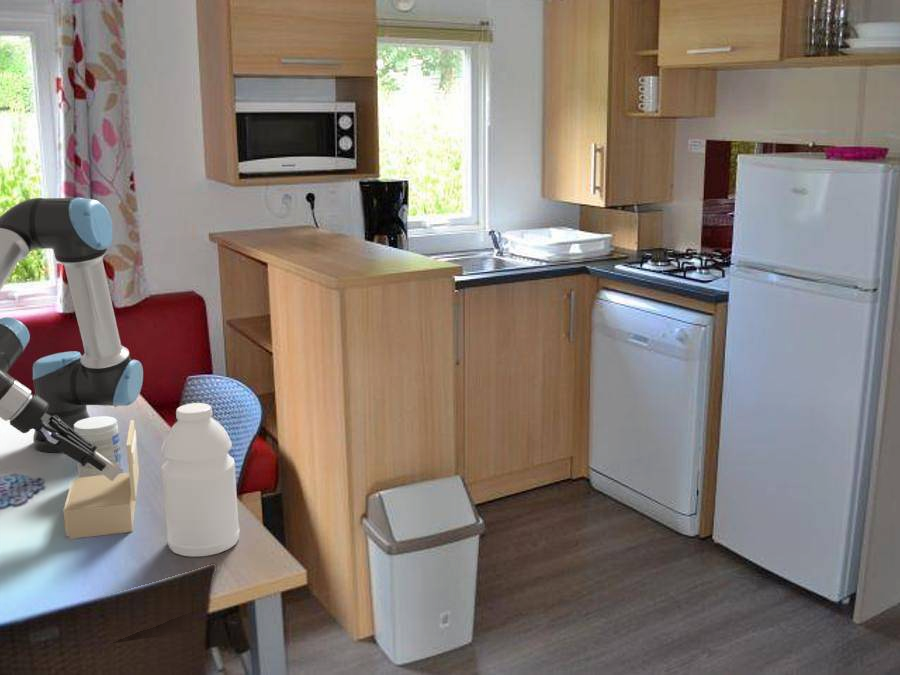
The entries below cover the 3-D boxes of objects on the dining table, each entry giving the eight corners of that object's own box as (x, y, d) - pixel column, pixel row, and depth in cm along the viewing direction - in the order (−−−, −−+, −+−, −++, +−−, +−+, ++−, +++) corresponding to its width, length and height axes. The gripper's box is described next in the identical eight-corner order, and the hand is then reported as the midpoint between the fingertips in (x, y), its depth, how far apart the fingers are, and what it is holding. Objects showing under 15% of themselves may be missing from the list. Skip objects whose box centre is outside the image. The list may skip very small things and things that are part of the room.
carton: (75, 503, 206) (72, 477, 204) (136, 497, 209) (133, 471, 208) (65, 539, 189) (62, 511, 188) (132, 531, 192) (129, 503, 191)
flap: (135, 472, 207) (130, 420, 204) (140, 471, 207) (135, 419, 204) (131, 501, 192) (126, 445, 189) (136, 500, 192) (131, 444, 189)
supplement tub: (128, 485, 216) (122, 424, 212) (85, 494, 211) (78, 432, 207) (117, 471, 224) (111, 412, 220) (75, 480, 219) (68, 420, 215)
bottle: (175, 564, 178) (163, 423, 172) (161, 535, 190) (149, 403, 184) (248, 548, 185) (239, 411, 178) (230, 521, 197) (221, 392, 190)
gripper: (10, 412, 193) (104, 477, 203) (4, 432, 181) (104, 500, 191) (35, 384, 194) (127, 451, 203) (31, 402, 182) (130, 472, 191)
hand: (116, 475), depth 197 cm, fingers closed
